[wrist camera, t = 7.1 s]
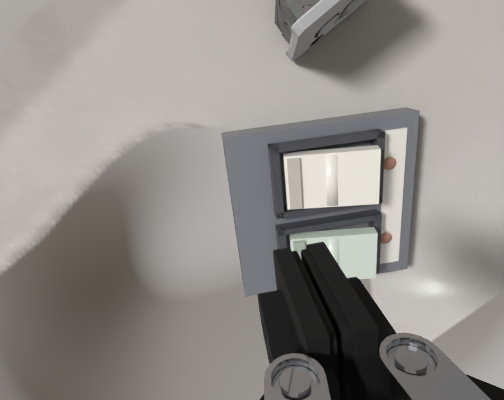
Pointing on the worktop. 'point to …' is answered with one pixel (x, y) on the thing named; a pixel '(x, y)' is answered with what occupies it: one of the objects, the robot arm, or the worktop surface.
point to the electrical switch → (310, 20)
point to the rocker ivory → (332, 177)
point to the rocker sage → (345, 248)
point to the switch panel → (327, 218)
